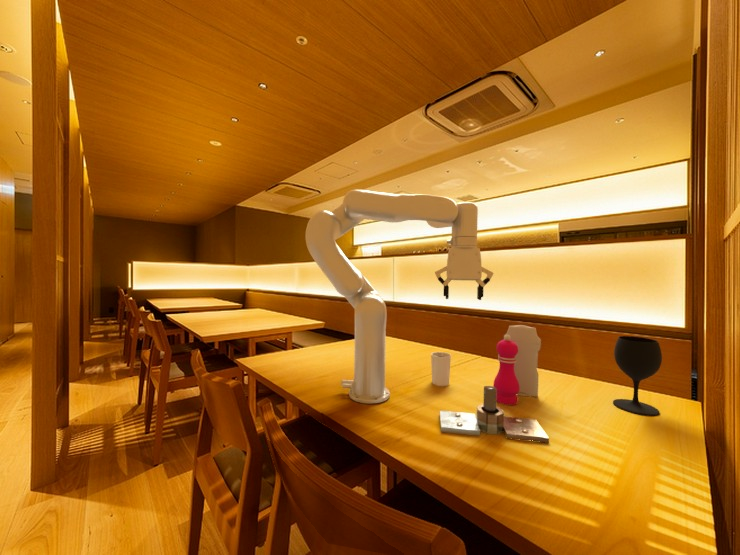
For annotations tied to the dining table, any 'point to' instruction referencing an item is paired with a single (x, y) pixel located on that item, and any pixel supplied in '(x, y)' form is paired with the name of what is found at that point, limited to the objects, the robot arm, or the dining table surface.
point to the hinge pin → (490, 399)
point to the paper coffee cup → (440, 368)
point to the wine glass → (637, 369)
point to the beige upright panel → (526, 358)
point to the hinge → (492, 425)
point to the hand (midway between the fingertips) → (462, 299)
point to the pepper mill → (506, 372)
